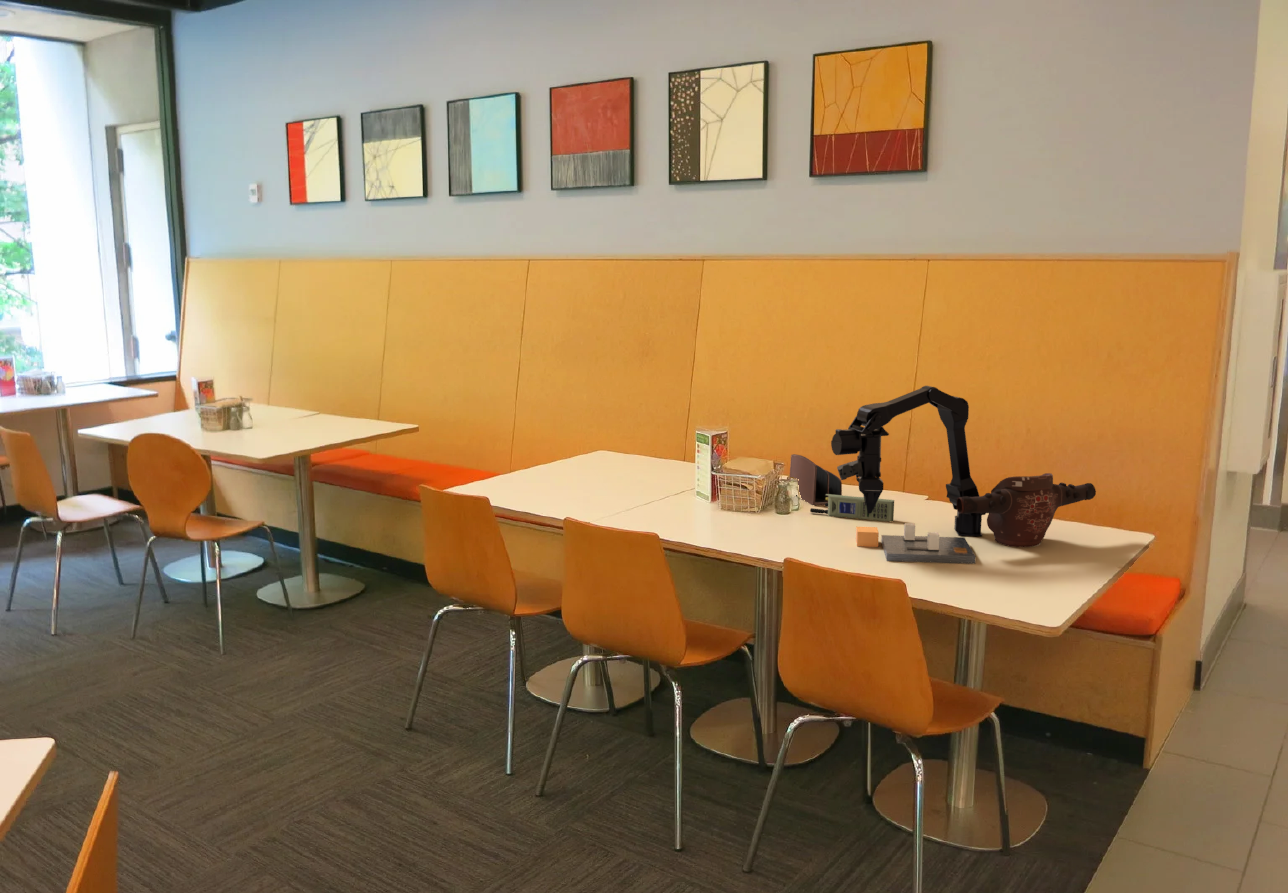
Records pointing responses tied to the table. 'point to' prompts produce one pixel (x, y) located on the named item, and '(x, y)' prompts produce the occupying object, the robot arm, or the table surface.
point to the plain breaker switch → (909, 531)
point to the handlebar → (1024, 507)
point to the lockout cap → (867, 536)
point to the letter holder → (814, 480)
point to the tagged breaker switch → (933, 541)
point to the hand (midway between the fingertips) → (868, 509)
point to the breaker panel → (918, 551)
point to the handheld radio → (857, 508)
